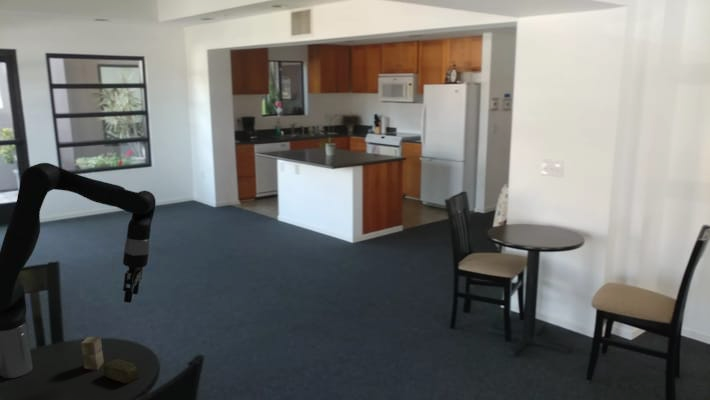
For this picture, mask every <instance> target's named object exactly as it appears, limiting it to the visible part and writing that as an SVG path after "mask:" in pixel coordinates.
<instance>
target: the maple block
mask: <svg viewBox="0 0 710 400" xmlns="http://www.w3.org/2000/svg"><path fill="white" fill-rule="evenodd" d="M80 345H81V350H82V351H81V352H82V358H83V364H84V365H83V366H84V370H85V369H86V370H85V371H87V369H88V371H89V370H90V371H91V370H95V371H97V370H99V369H100V368H101V367H102V366H103V364H104V363H105V360H104V354H103V345H102V337H101V336H87V337H86V338H85V339H84V340H83V341H82V342H81V343H80Z"/></svg>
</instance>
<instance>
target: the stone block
mask: <svg viewBox="0 0 710 400" xmlns="http://www.w3.org/2000/svg"><path fill="white" fill-rule="evenodd" d="M103 373H104V374H103V376H105V377H106V378H108V379H110V380H114V381H116V382H120V383H123V384H130V383H132V382H134V381H135V380H137V379H138V378H139V377H140V370H139V366H138V365H137V363H133V362H129V361H126V360H124V359H121V358H115V359H113V360H110V361H109V362H108V363H105V364H104V365H103Z"/></svg>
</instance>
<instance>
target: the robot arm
mask: <svg viewBox="0 0 710 400" xmlns="http://www.w3.org/2000/svg"><path fill="white" fill-rule="evenodd" d="M53 190H55V191H57V190H58V191H64V192H70V193H73V194H77V195H79V196H81V197H82V198H83V197H84V198H85V199H87V200H89V201H92V202H94V203H98V204H102V205H105V206H109V207H115V208H118V209H120V210H123V211H125V212H128V213H131V214H132V216H131V218H130V220H129V222H128V226H127V232H126V239H125V244H124V251H123V258H122V264H123V265H124V266H126V267H128V269H127V270H126V272H125V273H124V280H123V287H122V291H123V292H124V297H123V298H124V299H123V302H124V303H129V304H130V303H131V302H132V301H133V295H138V293H139V287H140V283H141V280H142V279H143V268H145V267H146V266H147V265H148V261H149V251H150V237H151V226H152V225H151V224H152V222H153V218H154V214H155V210H156V197H155V195H154V193H152V192H151V191H148V190H141V191H138V192H137V191H132V190H129V189H126V188H124V187H123V186H121V185H119V184H118V185H117V184H114V183H111V182H110V183H109V182H105V181H102V180H99V179H98V180H97V179H94V178H91V177H90V178H89V177H86V176H83V175H80V174H78V173H74V172H72V171H69V170H67V169H64V168H62V167H60V166H57V165H55V164H53V163H49V162H40V163H37V164H33V165H31V166H29V167H27V168H26V169H25V170H24V171H23V172H22V175H21V178H20V183H19V188H18V193H17V198H16V202H15V205H14V209H13V211H12V214H11V216H10V220H9V223H8V225H7V228H6V230H5V234H4V237H3V240H2V243H1V248H0V377H2V378H5V379H15V378H19V377H22V376H25V375H27V374H28V373H30V372H31V371H32V370H33V368H34V367H33V366H34V365H33V360H32V355H31V349H30V348H31V347H30V342H29V336H28V328H27V324H26V323H27V321H26V315H27V303H26V293H25V287H24V286H23V284H22V282H21V280H19V279H18V278H19V275H20V273H21V272H22V270H23V269H24V267H25V266H26V264H27V262H28V261H29V259H30V257H31V256H32V254H34V253H33V252H34V251H35V248H36V247H37V246H36V245H37V242H38V240H39V236H40V233H41V220H40V218H41V217H40V216H41V214H40V213H41V209H42V207H43V204H44V202H45V201H44V200H45V199H46V196H47V194H48V193H49V192H50V191H51V192H52V191H53Z"/></svg>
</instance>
